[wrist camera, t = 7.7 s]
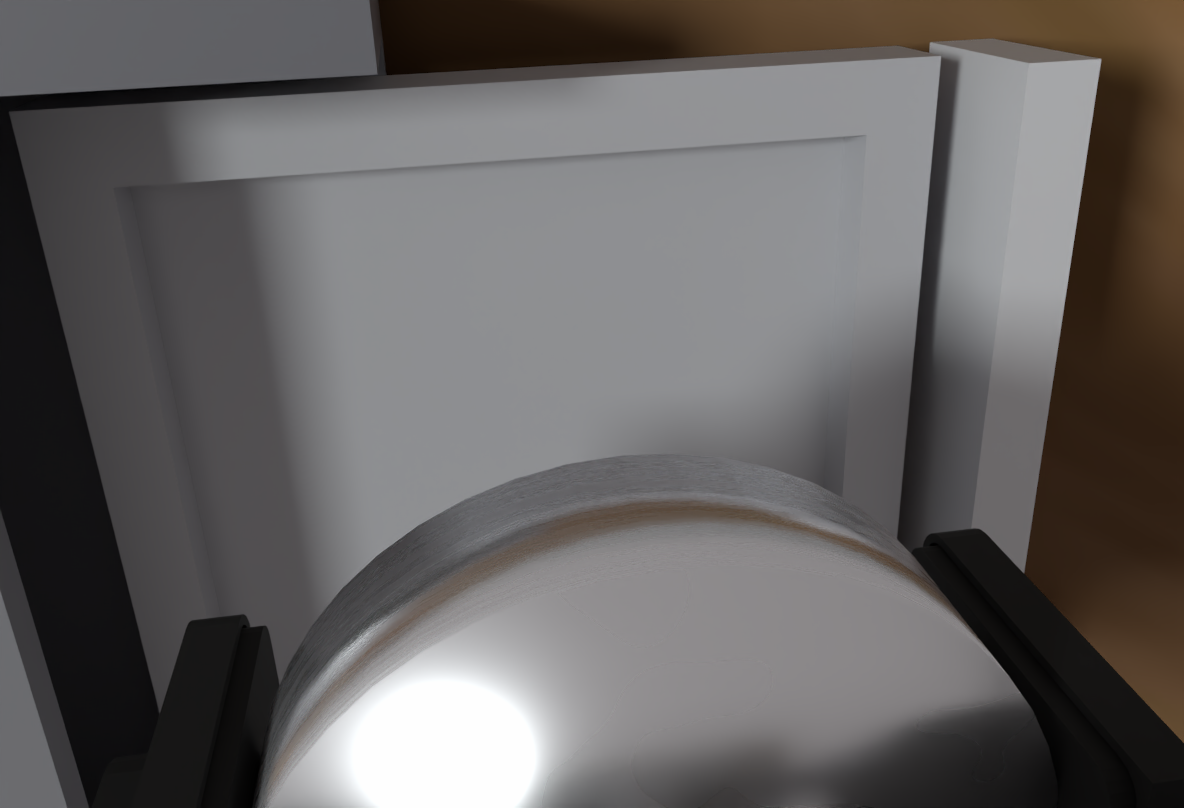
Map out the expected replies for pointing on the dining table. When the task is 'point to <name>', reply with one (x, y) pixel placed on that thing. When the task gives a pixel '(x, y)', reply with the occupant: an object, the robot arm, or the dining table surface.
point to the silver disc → (649, 659)
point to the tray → (552, 296)
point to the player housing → (48, 385)
